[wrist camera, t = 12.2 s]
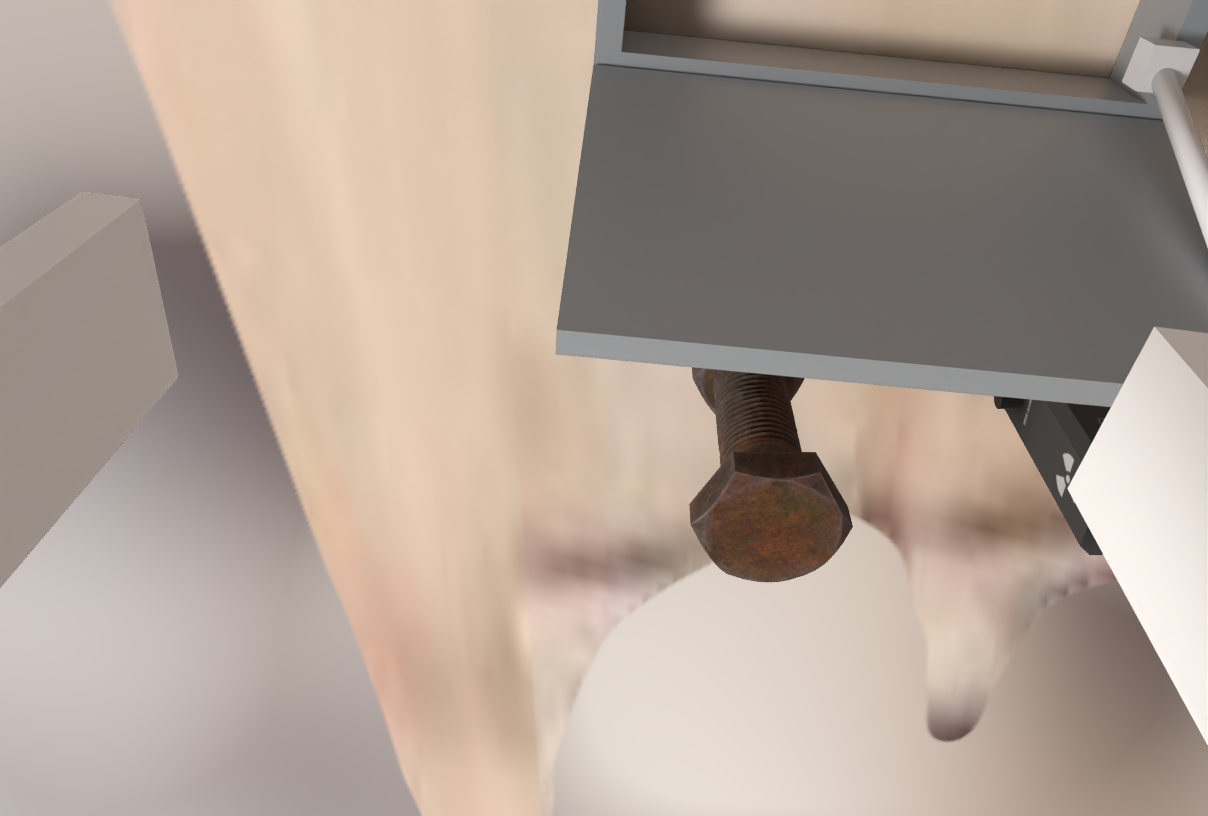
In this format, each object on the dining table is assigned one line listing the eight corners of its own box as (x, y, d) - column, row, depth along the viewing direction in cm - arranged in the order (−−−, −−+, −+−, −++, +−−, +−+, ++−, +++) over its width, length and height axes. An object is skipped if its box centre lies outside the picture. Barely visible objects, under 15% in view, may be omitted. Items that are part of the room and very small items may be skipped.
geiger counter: (950, 375, 45) (1059, 598, 33) (967, 296, 42) (1093, 507, 30) (1163, 372, 44) (1356, 598, 32) (1194, 291, 42) (1417, 505, 30)
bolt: (729, 252, 42) (760, 449, 29) (816, 299, 43) (881, 508, 31) (665, 343, 45) (669, 556, 33) (748, 385, 46) (783, 606, 34)
